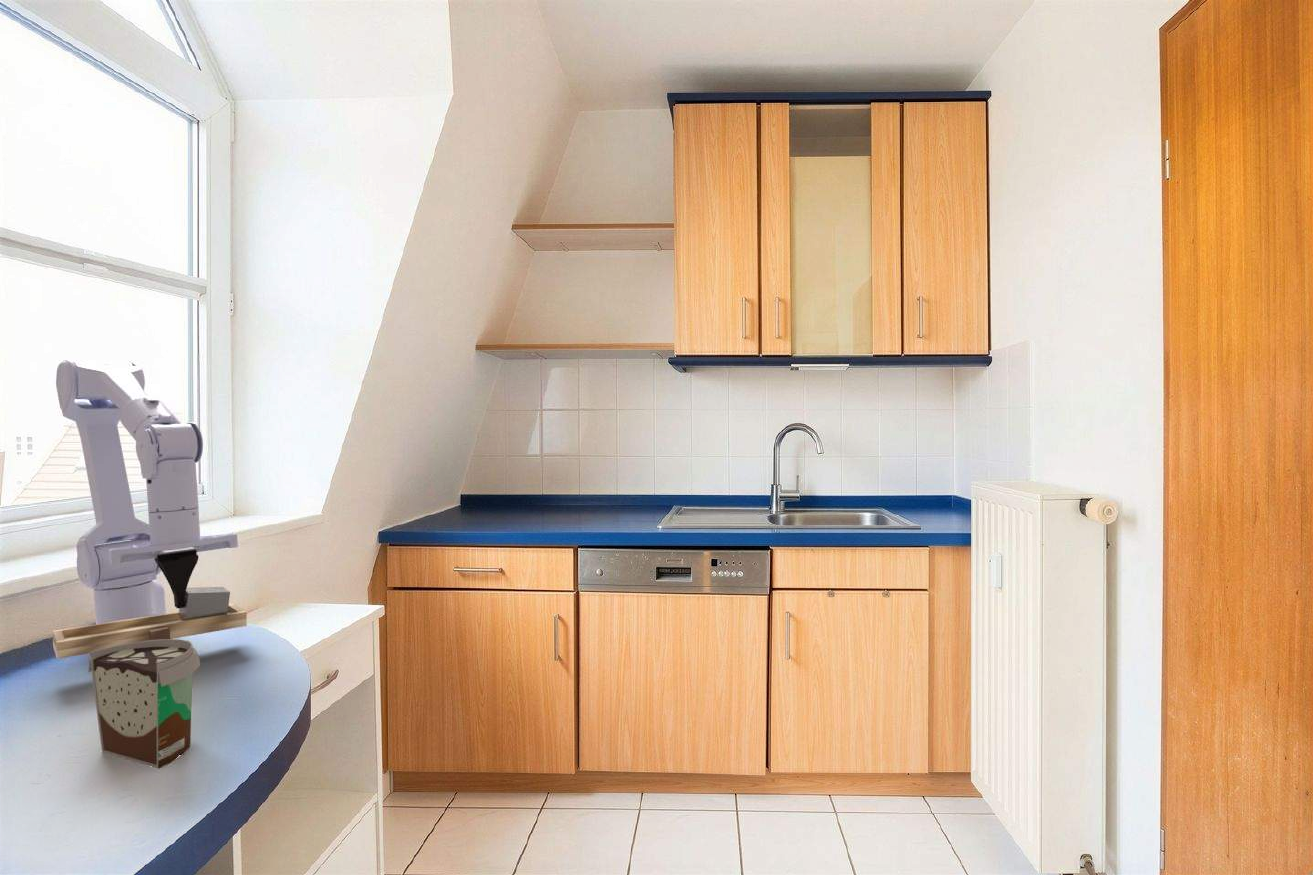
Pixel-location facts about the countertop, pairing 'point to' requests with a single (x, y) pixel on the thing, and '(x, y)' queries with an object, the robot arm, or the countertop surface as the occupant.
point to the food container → (144, 699)
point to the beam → (139, 631)
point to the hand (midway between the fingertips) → (180, 606)
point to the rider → (204, 602)
